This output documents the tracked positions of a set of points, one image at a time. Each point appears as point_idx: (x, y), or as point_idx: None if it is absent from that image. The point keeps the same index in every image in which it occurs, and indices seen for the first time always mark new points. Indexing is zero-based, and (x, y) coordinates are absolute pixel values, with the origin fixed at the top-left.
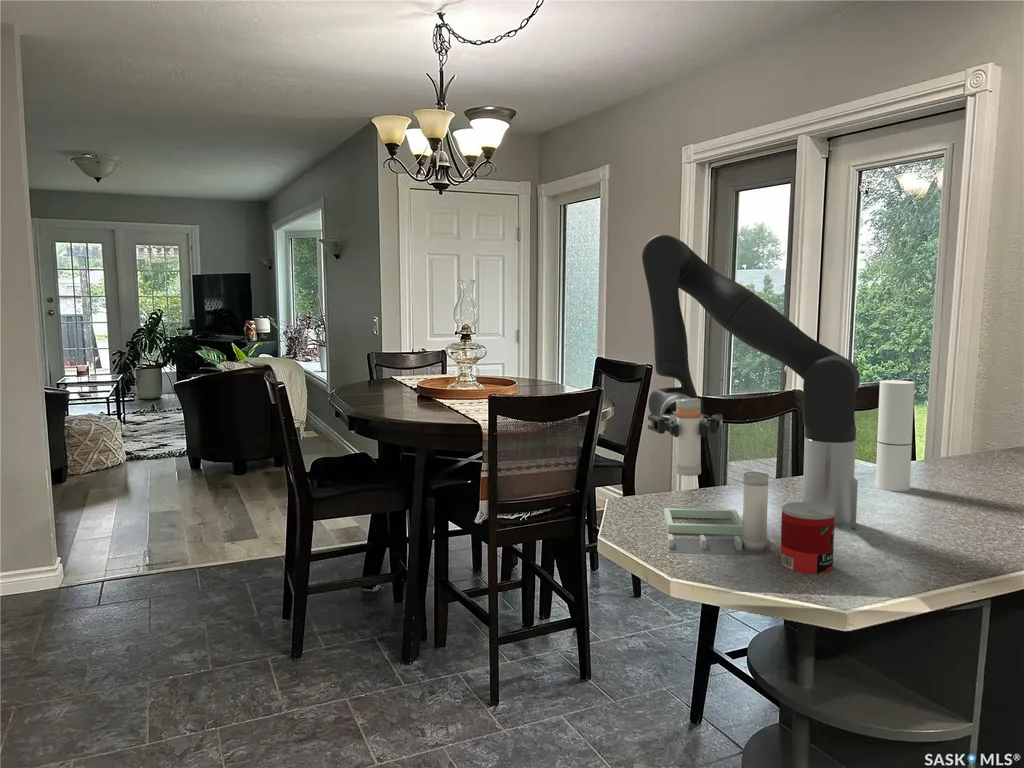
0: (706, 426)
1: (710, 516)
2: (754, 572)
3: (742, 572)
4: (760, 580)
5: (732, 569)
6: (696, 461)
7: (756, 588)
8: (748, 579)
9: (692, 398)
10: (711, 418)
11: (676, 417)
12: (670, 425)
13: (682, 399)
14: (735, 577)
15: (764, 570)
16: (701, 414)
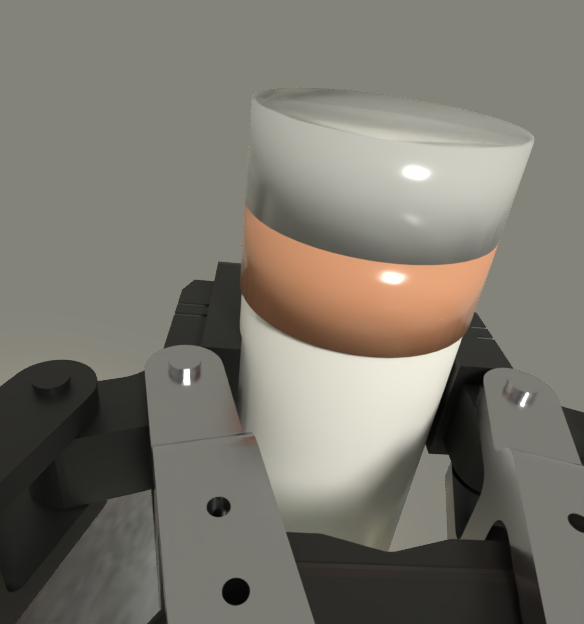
0: (210, 284)
1: None
2: (83, 600)
3: (120, 597)
4: (96, 543)
5: (140, 621)
6: None
7: (131, 497)
8: (125, 547)
9: (344, 124)
10: (65, 404)
11: (507, 454)
12: (477, 322)
13: (455, 121)
14: (155, 559)
15: (41, 620)
16: (155, 478)
